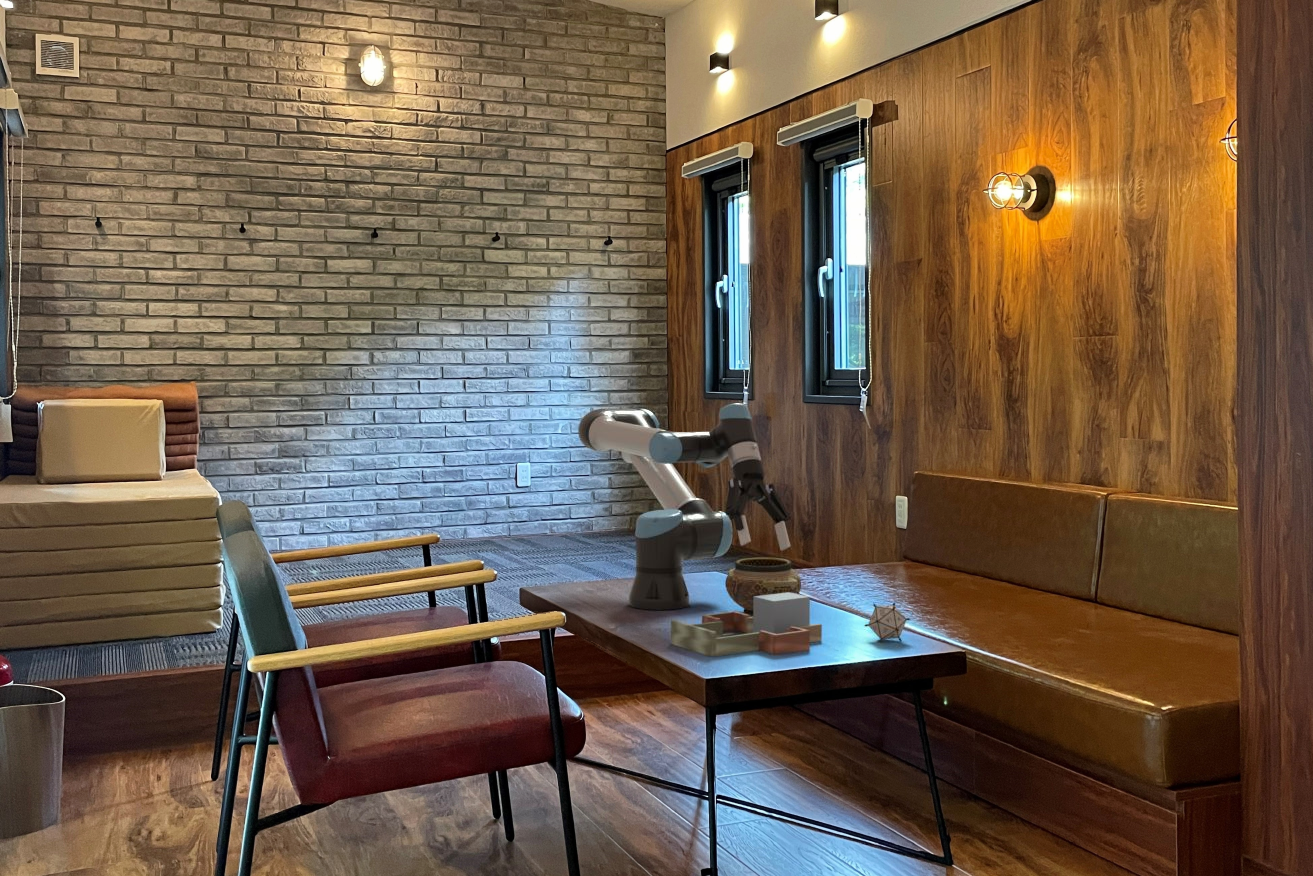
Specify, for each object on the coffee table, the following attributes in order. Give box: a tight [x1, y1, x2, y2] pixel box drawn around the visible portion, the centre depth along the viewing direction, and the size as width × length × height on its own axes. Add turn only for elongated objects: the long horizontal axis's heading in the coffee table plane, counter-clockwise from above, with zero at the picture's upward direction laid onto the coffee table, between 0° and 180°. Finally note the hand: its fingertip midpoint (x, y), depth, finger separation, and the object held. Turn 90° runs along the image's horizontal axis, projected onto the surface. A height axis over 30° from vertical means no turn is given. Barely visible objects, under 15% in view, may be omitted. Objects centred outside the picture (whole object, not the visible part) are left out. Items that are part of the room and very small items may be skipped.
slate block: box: [753, 592, 811, 634], centre depth 265 cm, size 7×10×9 cm
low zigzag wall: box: [670, 610, 823, 658], centre depth 260 cm, size 26×29×5 cm
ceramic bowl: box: [724, 556, 802, 617], centre depth 291 cm, size 24×18×15 cm
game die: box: [863, 601, 911, 643], centre depth 262 cm, size 9×8×10 cm
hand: (766, 546), depth 286 cm, fingers open, 13 cm apart
